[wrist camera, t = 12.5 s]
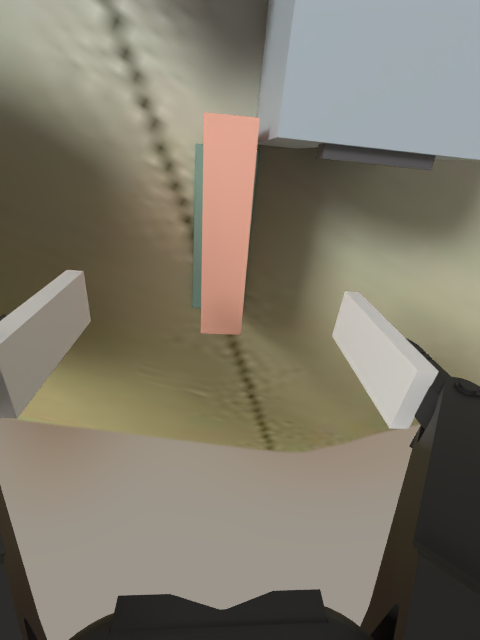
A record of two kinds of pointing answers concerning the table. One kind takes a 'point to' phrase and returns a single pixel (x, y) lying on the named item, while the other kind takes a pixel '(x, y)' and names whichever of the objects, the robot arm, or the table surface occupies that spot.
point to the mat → (198, 223)
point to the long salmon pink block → (226, 218)
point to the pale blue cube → (373, 80)
